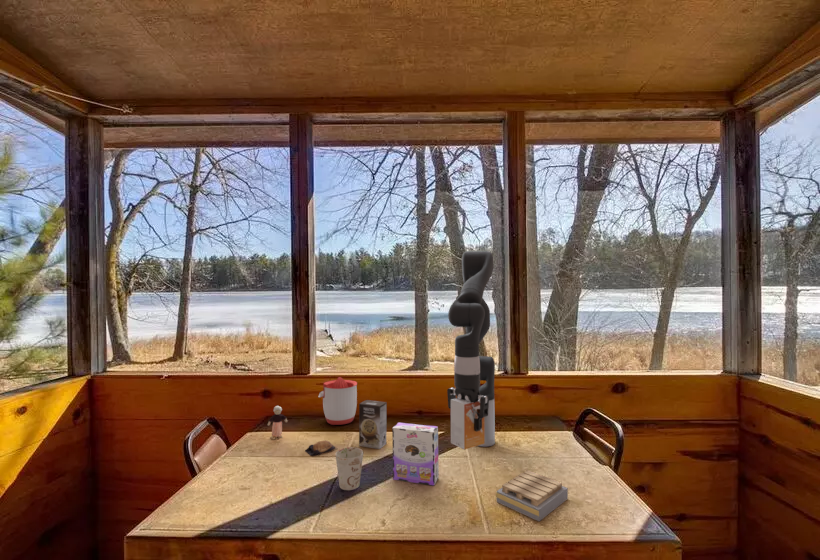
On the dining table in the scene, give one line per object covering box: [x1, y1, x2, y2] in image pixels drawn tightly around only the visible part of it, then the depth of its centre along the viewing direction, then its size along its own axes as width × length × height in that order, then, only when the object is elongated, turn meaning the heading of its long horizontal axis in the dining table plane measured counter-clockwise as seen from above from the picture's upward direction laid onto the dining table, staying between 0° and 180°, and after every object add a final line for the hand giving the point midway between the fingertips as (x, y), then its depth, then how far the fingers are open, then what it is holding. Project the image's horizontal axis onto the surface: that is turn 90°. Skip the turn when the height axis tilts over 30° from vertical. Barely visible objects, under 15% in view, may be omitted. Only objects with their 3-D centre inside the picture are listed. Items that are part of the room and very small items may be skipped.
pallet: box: [501, 469, 563, 506], centre depth 113 cm, size 11×14×2 cm
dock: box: [495, 485, 569, 522], centre depth 113 cm, size 13×16×3 cm
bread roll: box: [304, 440, 338, 457], centre depth 149 cm, size 11×8×4 cm
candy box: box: [391, 422, 440, 486], centre depth 126 cm, size 14×6×16 cm, turn 71°
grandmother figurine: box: [267, 405, 288, 440], centre depth 162 cm, size 8×4×13 cm, turn 129°
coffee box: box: [358, 399, 388, 450], centre depth 154 cm, size 9×6×16 cm
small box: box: [450, 397, 485, 450], centre depth 117 cm, size 8×6×13 cm
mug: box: [335, 446, 364, 491], centre depth 124 cm, size 8×13×10 cm, turn 27°
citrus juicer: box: [318, 376, 358, 426], centre depth 180 cm, size 16×17×20 cm
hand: (467, 427), depth 117 cm, fingers closed on small box, 6 cm apart
